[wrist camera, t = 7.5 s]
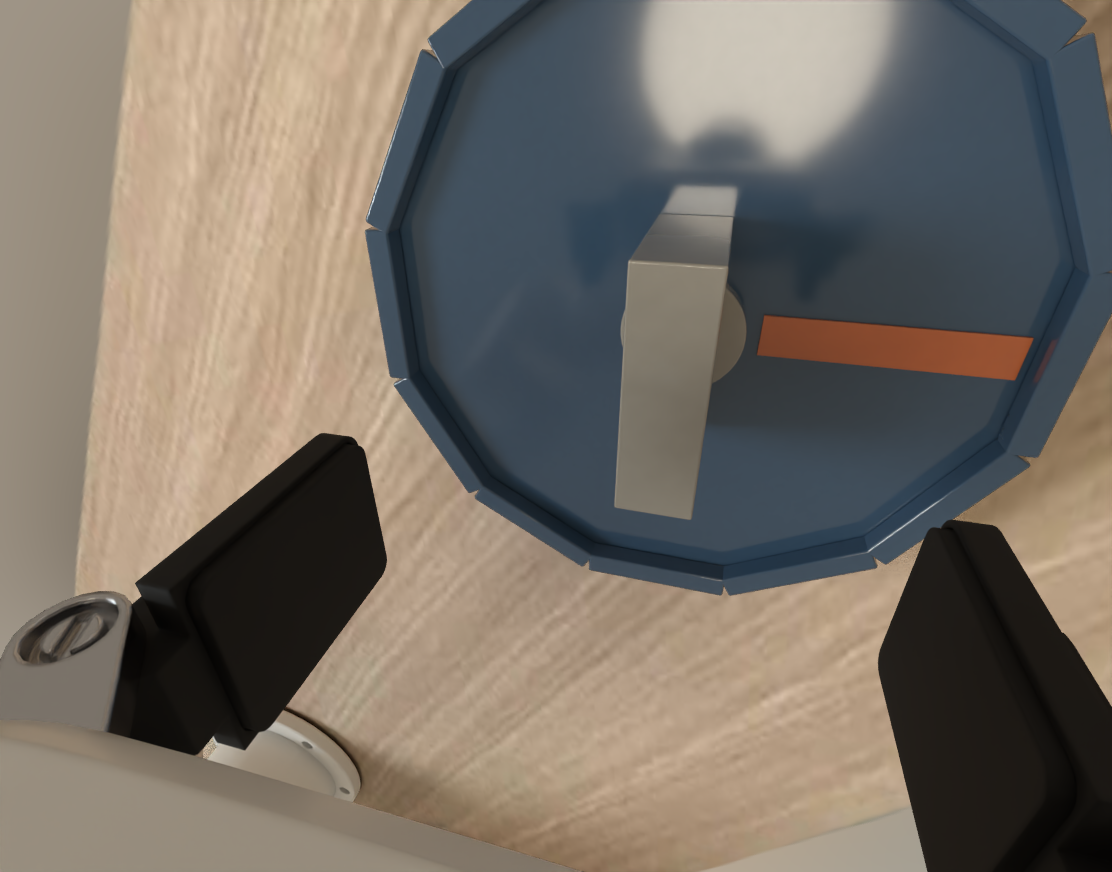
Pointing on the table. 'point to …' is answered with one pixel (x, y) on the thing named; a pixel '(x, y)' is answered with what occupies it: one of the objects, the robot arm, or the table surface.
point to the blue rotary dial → (744, 269)
